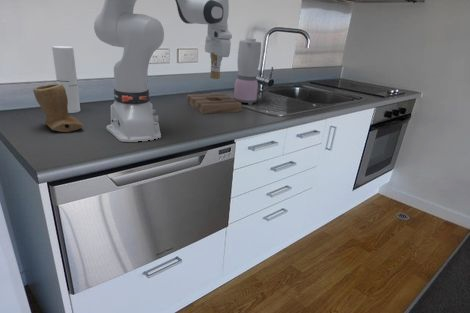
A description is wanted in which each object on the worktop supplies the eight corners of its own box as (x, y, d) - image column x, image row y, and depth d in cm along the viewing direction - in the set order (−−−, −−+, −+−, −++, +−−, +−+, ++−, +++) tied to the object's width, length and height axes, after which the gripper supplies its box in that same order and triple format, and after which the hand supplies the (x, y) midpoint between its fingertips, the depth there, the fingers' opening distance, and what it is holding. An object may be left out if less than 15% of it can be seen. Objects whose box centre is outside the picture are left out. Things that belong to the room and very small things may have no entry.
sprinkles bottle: (211, 79, 146) (212, 48, 141) (209, 77, 150) (210, 47, 145) (220, 79, 148) (222, 49, 142) (218, 77, 151) (220, 47, 146)
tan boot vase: (37, 123, 114) (29, 81, 108) (72, 119, 121) (67, 79, 115) (45, 136, 103) (37, 90, 97) (84, 131, 110) (79, 88, 104)
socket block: (241, 111, 151) (241, 103, 149) (201, 113, 142) (202, 105, 140) (223, 101, 167) (223, 93, 165) (187, 102, 158) (187, 94, 156)
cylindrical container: (61, 108, 132) (52, 45, 122) (80, 108, 135) (73, 46, 125) (60, 113, 126) (51, 47, 116) (80, 112, 129) (73, 48, 119)
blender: (255, 106, 163) (262, 40, 150) (232, 103, 163) (237, 38, 151) (256, 99, 177) (263, 38, 165) (235, 97, 178) (240, 36, 165)
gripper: (202, 30, 148) (201, 61, 153) (220, 34, 131) (218, 68, 137) (214, 31, 150) (213, 61, 156) (233, 35, 134) (231, 68, 140)
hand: (215, 64), depth 146 cm, fingers closed on sprinkles bottle, 4 cm apart
